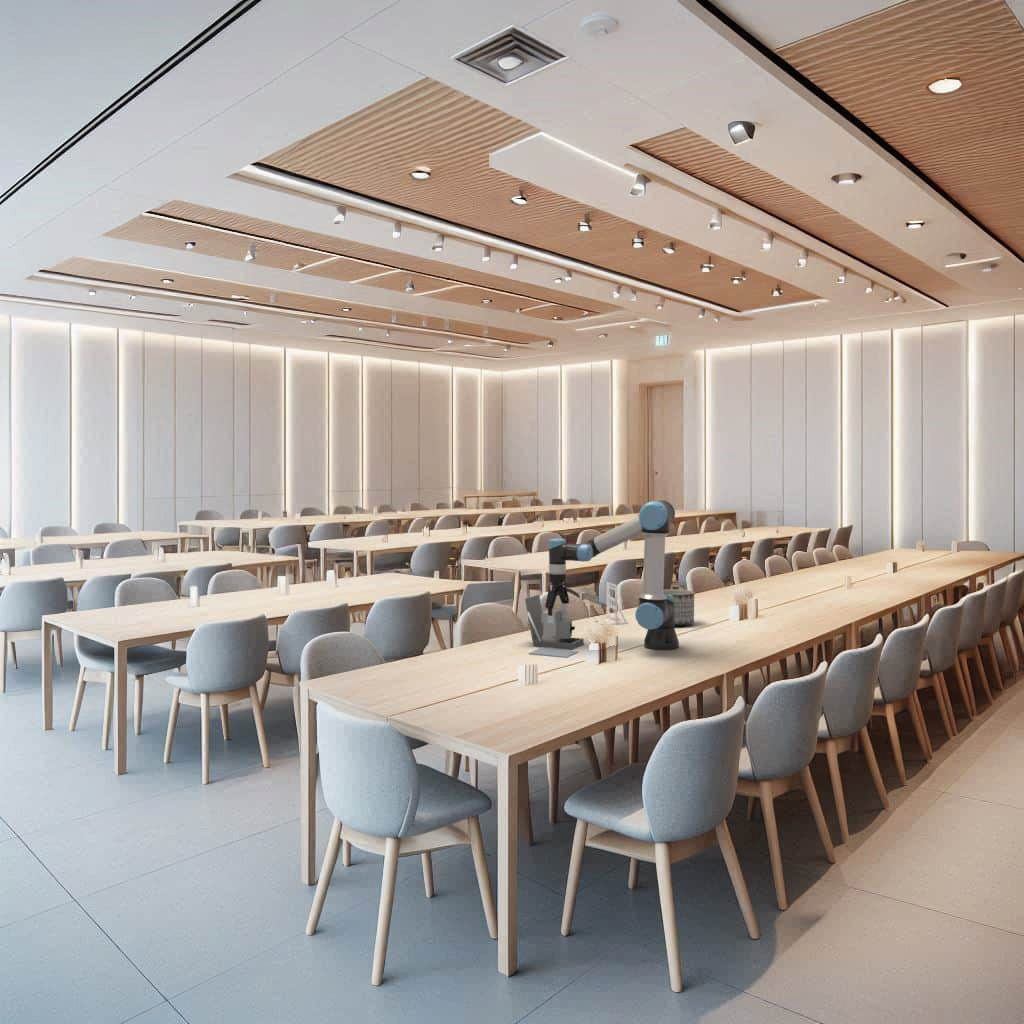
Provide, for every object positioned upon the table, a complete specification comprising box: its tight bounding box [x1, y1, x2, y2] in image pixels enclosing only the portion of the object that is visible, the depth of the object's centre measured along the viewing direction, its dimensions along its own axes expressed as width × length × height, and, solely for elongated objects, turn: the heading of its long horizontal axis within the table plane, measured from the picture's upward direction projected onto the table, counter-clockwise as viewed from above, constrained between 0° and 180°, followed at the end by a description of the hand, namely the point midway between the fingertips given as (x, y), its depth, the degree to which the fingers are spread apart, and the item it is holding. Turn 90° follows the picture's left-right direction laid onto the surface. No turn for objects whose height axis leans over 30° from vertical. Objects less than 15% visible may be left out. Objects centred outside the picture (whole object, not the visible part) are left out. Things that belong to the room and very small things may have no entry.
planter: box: [663, 588, 695, 628], centre depth 427 cm, size 19×19×16 cm
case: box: [524, 594, 585, 651], centre depth 383 cm, size 23×14×21 cm, turn 62°
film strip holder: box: [605, 581, 629, 626], centre depth 437 cm, size 14×14×20 cm
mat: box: [528, 647, 579, 659], centre depth 366 cm, size 18×12×1 cm, turn 62°
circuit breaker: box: [541, 609, 576, 643], centre depth 383 cm, size 8×14×15 cm, turn 77°
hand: (557, 620), depth 382 cm, fingers open, 13 cm apart
